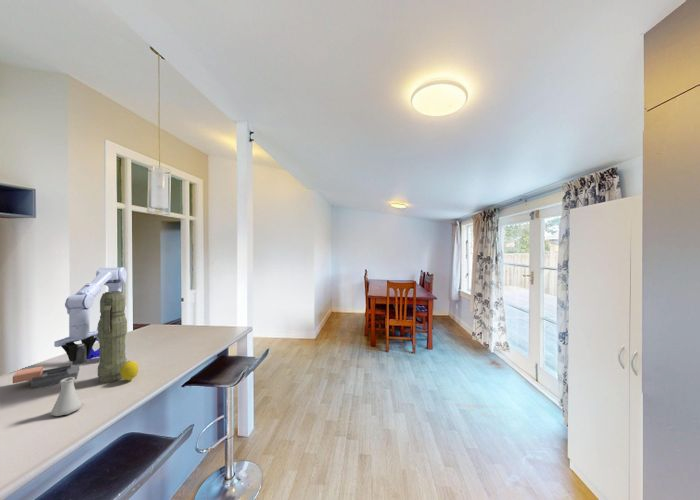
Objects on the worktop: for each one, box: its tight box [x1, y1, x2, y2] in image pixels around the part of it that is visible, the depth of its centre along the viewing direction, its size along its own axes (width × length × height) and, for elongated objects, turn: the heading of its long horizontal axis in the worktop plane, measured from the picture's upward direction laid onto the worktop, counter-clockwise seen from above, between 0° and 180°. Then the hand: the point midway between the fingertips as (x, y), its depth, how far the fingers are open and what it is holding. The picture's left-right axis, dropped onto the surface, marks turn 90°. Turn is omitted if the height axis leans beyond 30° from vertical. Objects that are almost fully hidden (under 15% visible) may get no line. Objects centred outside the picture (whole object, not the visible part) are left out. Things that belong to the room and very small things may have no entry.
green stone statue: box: [97, 291, 128, 385], centre depth 109 cm, size 9×12×35 cm
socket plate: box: [30, 364, 80, 389], centre depth 109 cm, size 12×10×3 cm
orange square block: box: [12, 365, 44, 384], centre depth 104 cm, size 6×6×2 cm
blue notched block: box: [87, 347, 100, 360], centre depth 134 cm, size 12×4×6 cm, turn 173°
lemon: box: [120, 360, 139, 382], centre depth 107 cm, size 6×6×8 cm
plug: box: [71, 342, 88, 366], centre depth 108 cm, size 4×4×7 cm
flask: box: [49, 377, 85, 417], centre depth 88 cm, size 7×7×10 cm
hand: (79, 358), depth 108 cm, fingers closed on plug, 4 cm apart
